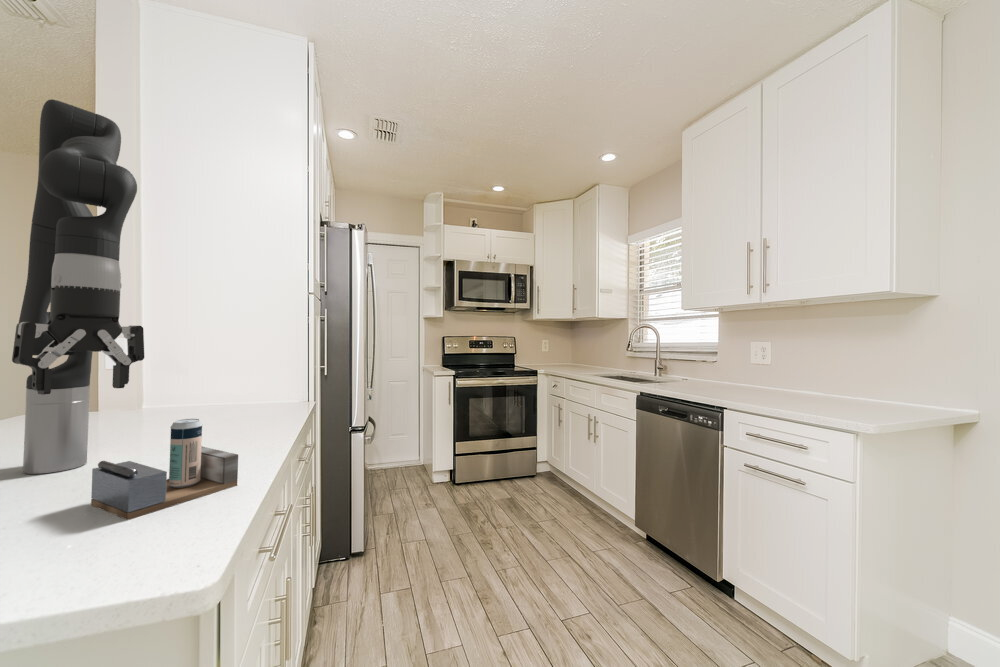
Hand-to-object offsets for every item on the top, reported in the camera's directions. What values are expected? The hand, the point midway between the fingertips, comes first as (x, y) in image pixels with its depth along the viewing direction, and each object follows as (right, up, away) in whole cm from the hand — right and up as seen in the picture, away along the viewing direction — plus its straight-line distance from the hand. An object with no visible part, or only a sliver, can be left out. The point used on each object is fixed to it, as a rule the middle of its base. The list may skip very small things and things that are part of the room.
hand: (83, 390), depth 62 cm
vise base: (+4, -21, +11) cm, 24 cm away
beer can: (+5, -20, +13) cm, 24 cm away
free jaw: (+2, -19, +6) cm, 20 cm away
